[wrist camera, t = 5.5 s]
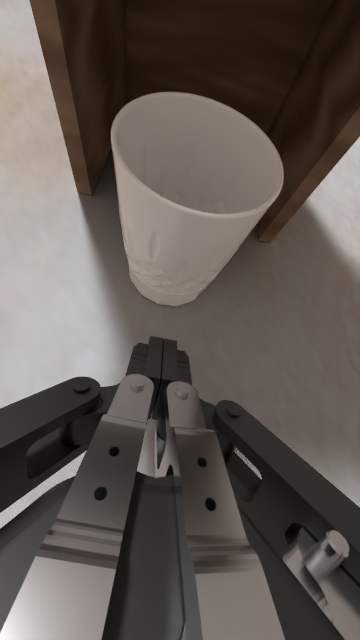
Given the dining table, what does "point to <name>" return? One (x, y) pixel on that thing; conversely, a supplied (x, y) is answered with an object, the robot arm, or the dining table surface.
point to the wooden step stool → (210, 76)
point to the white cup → (188, 189)
